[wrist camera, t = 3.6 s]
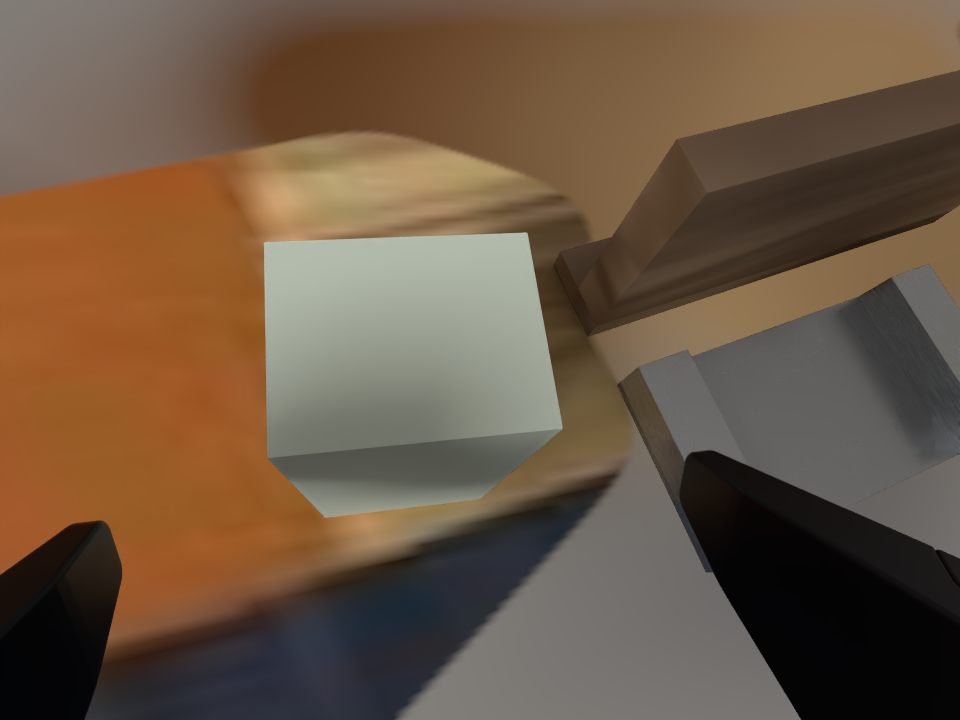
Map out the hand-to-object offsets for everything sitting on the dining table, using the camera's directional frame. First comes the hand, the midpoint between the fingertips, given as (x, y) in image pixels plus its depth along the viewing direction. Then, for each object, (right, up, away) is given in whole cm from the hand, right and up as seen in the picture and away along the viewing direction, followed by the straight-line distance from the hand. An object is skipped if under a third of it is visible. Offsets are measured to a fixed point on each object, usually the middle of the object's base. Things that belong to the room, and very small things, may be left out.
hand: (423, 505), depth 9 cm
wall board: (+13, +7, +16) cm, 21 cm away
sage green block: (-2, -1, +11) cm, 11 cm away
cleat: (+13, 0, +13) cm, 19 cm away
